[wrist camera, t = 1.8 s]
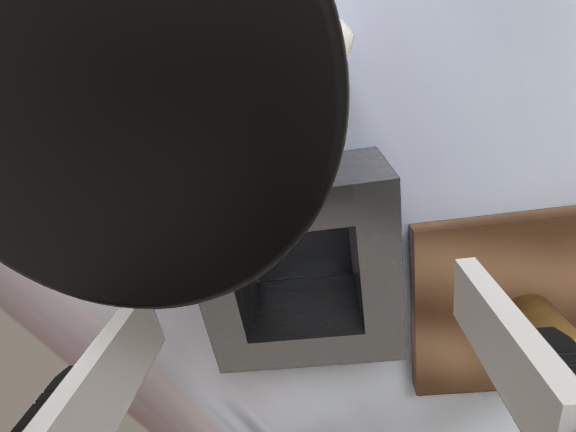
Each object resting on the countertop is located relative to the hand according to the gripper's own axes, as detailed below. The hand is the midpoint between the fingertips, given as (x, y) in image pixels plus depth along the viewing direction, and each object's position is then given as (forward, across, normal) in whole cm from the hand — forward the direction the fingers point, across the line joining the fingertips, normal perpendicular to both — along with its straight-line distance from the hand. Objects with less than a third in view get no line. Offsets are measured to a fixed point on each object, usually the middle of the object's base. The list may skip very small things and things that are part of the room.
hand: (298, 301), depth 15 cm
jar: (+5, -2, +9) cm, 11 cm away
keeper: (+5, +12, -6) cm, 14 cm away
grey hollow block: (+5, 0, 0) cm, 5 cm away
